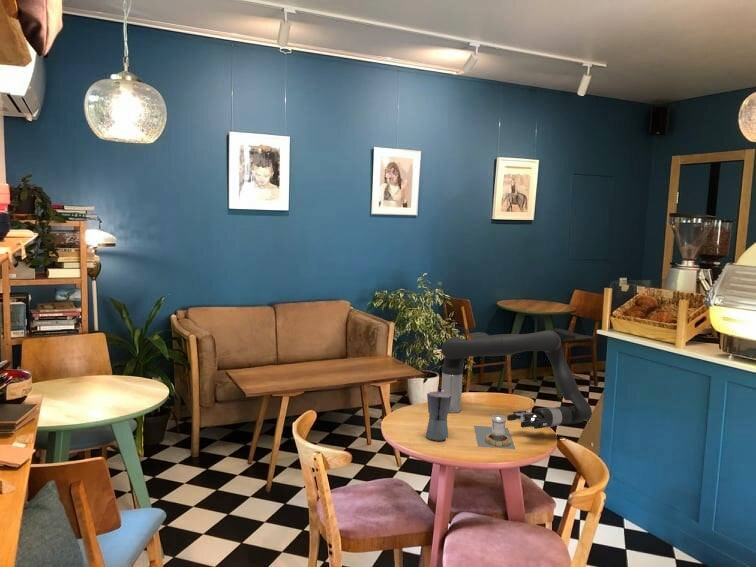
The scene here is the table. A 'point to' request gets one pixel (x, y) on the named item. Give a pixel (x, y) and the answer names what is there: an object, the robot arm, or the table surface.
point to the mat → (484, 430)
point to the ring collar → (497, 441)
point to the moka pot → (438, 415)
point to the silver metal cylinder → (498, 427)
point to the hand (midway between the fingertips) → (514, 421)
